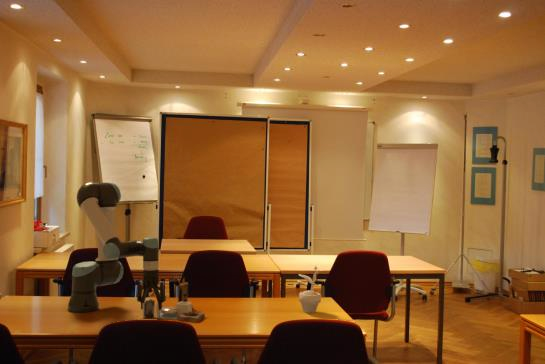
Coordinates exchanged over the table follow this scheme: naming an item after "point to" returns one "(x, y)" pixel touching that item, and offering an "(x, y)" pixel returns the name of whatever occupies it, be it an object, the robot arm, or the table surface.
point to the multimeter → (183, 290)
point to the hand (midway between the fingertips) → (151, 316)
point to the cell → (149, 308)
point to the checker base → (167, 316)
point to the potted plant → (310, 296)
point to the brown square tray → (191, 316)
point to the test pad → (169, 310)
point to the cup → (184, 307)
